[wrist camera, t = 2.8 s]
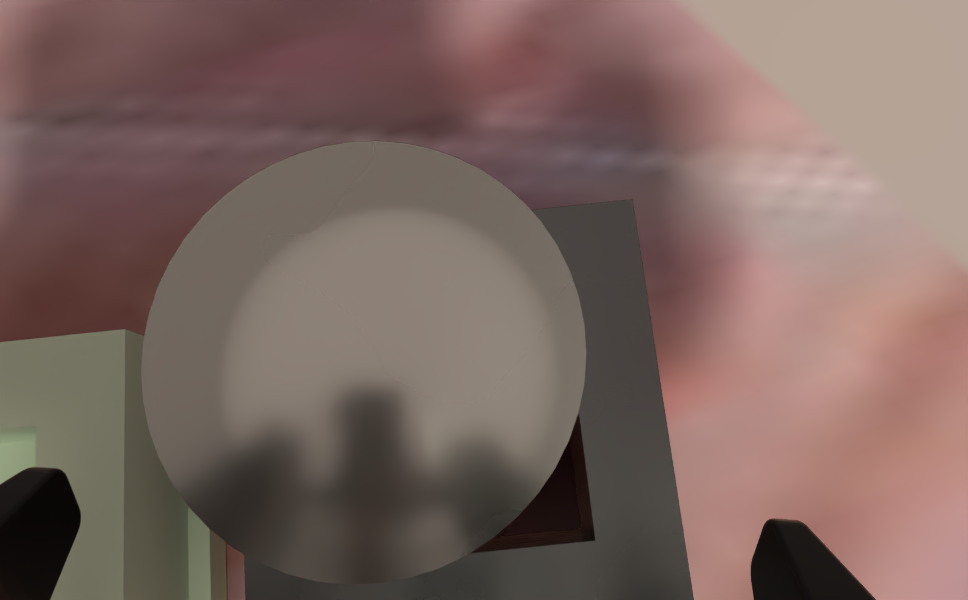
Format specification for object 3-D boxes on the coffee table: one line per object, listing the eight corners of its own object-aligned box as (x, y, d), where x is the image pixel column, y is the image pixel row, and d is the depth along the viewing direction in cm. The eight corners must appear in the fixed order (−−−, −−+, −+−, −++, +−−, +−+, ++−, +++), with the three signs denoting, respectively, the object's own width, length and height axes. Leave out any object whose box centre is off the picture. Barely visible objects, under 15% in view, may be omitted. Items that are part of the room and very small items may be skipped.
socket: (666, 599, 18) (697, 625, 15) (290, 637, 18) (247, 671, 15) (613, 239, 20) (632, 199, 17) (275, 274, 20) (235, 241, 17)
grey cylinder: (539, 494, 18) (614, 559, 6) (394, 509, 18) (140, 607, 6) (523, 350, 19) (557, 119, 6) (384, 364, 19) (141, 164, 6)
